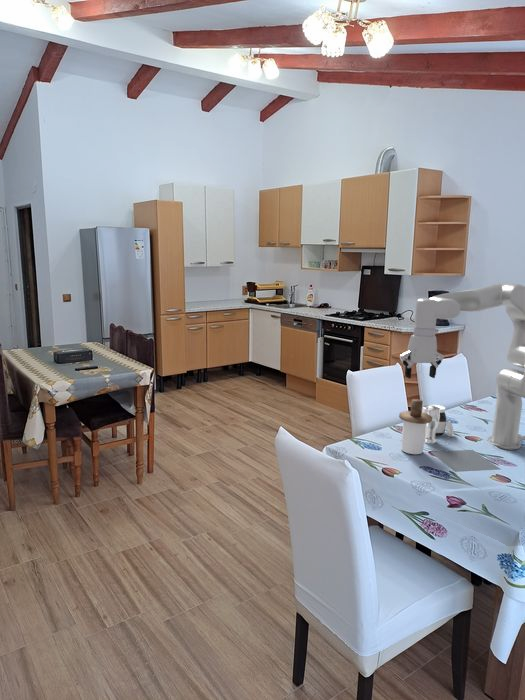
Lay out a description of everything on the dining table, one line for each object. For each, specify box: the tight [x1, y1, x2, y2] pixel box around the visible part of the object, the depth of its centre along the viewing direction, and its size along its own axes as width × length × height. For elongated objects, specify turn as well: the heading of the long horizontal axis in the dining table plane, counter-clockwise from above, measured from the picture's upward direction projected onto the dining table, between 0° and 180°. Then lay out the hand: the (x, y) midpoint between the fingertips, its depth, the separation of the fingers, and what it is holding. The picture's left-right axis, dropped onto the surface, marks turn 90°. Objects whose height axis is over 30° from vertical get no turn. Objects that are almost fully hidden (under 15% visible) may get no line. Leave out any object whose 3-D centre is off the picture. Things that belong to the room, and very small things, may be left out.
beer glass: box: [422, 404, 440, 444], centre depth 210 cm, size 7×7×15 cm
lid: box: [398, 398, 432, 424], centre depth 196 cm, size 12×12×7 cm
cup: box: [401, 420, 426, 455], centre depth 198 cm, size 8×8×14 cm
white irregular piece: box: [433, 404, 454, 438], centre depth 221 cm, size 12×11×12 cm
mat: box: [430, 449, 501, 473], centre depth 193 cm, size 18×18×1 cm
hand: (420, 377), depth 194 cm, fingers open, 9 cm apart
